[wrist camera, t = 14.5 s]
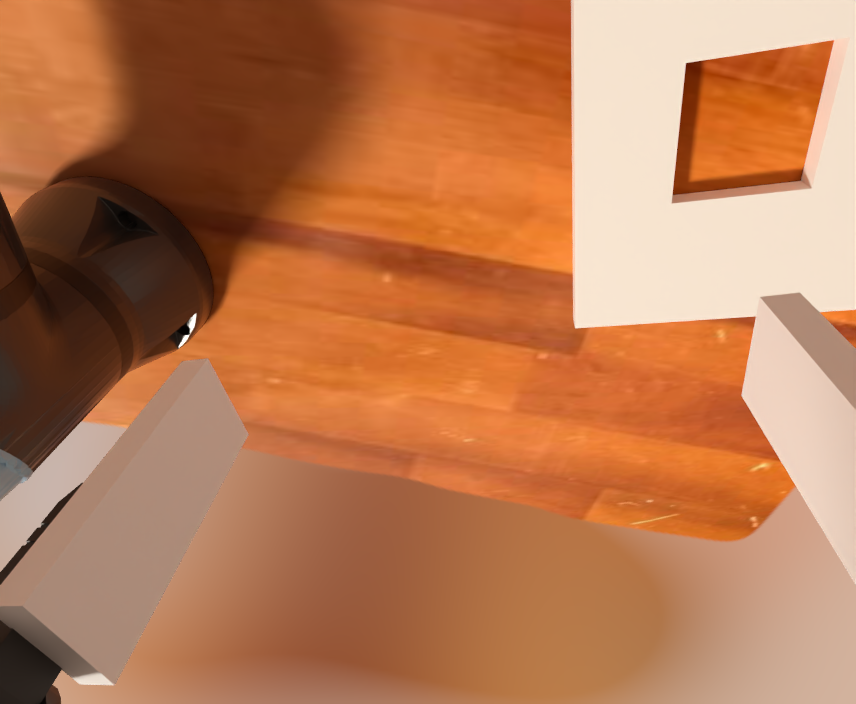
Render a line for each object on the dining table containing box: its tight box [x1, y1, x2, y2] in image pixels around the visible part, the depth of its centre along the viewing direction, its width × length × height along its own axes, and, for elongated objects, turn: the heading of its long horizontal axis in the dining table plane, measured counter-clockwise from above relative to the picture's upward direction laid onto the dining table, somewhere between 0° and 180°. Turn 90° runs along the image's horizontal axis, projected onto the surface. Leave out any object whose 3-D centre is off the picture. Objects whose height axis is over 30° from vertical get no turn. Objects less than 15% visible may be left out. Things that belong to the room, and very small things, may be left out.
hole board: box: [571, 0, 856, 328], centre depth 29 cm, size 20×32×2 cm, turn 9°
